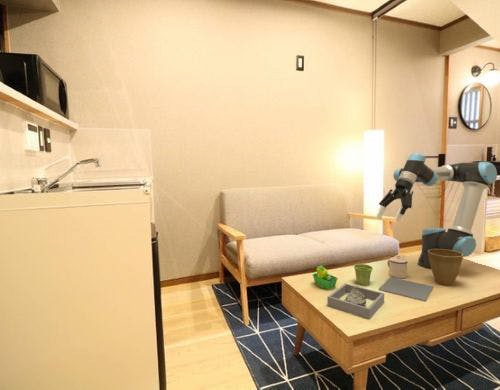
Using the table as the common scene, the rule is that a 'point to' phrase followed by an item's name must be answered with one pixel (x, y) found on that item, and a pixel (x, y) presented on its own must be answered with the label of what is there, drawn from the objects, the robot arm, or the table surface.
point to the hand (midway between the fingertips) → (387, 219)
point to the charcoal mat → (407, 288)
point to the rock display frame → (354, 308)
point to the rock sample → (356, 297)
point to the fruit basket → (324, 278)
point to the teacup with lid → (397, 267)
